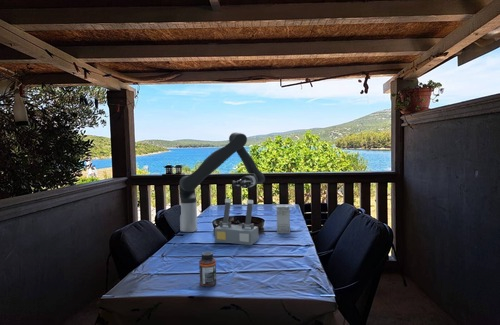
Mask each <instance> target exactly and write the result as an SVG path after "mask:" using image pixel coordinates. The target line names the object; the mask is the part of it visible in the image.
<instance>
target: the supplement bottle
mask: <svg viewBox="0 0 500 325" xmlns="http://www.w3.org/2000/svg"><path fill="white" fill-rule="evenodd" d="M216 262H217V260H216V258H215V257H214V254H213V252H212V251H203V252H202V253H201V258H200V259H199V261H198V264H199V266H198V268H199V284H200V286H202V287H204V286H210V287H213V286H215V285H216V284H217V263H216Z"/></svg>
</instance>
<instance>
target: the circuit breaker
mask: <svg viewBox="0 0 500 325" xmlns="http://www.w3.org/2000/svg"><path fill="white" fill-rule="evenodd" d="M290 208H291V206H290V204H276V233H277V234H290V233H291V218H290V217H291V212H290Z"/></svg>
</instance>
